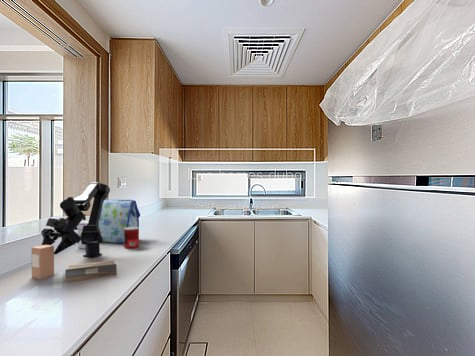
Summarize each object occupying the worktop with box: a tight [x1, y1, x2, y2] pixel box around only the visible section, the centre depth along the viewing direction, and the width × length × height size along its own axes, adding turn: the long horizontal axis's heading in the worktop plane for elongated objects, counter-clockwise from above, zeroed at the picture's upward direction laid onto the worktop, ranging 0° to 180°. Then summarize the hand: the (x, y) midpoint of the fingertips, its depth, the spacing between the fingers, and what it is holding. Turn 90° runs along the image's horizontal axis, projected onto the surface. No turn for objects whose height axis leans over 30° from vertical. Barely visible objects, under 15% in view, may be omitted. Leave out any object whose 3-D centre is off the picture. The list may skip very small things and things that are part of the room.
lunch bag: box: [98, 199, 141, 244], centre depth 185 cm, size 22×17×26 cm
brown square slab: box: [64, 259, 117, 283], centre depth 123 cm, size 18×18×4 cm
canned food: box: [123, 226, 140, 249], centre depth 168 cm, size 8×8×11 cm
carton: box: [31, 244, 55, 280], centre depth 119 cm, size 6×6×12 cm
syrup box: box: [77, 220, 89, 249], centre depth 169 cm, size 6×6×14 cm
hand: (47, 252), depth 121 cm, fingers open, 9 cm apart
